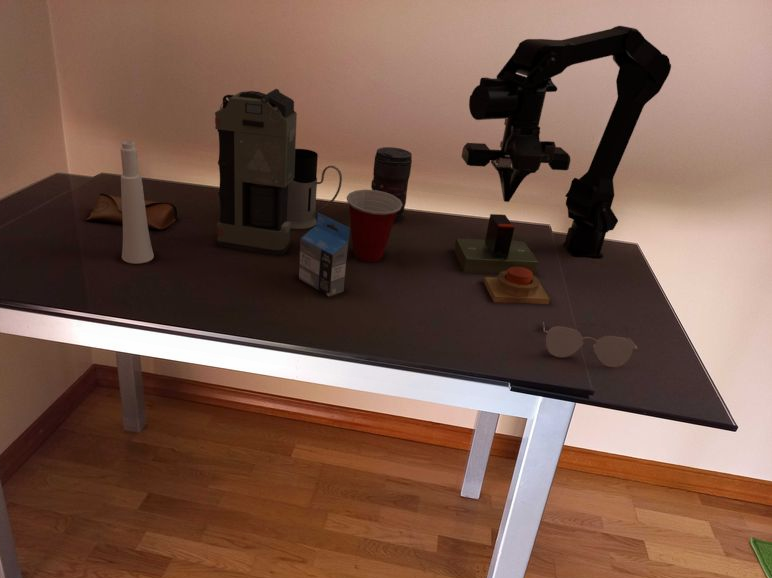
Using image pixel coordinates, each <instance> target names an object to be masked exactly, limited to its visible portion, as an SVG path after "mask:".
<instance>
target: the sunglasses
mask: <svg viewBox="0 0 772 578" xmlns="http://www.w3.org/2000/svg"><path fill="white" fill-rule="evenodd" d="M542 324H543V325H542V330H543V333H546V335H545V347H546V350H547V351H548V353H549V354H551V355H552V356H554V357H557V358H568V357H570V356H572V355H573V354H575V353H576V352H577V351H579V350H580V349H581V348H582V347H583V345H584V339H591V340H593V341H595V343H594V344H592V350H593V352H594V353H595V355H596V357H597V359H598V360H599V362H600V363H601V364H603V365H604V366H606V367H609V368H619V367H622V366H624V365H625V364H626V363H627V362H628V361H629V360H630V358H631V357H632V354H633V352H634V350H637V349H638V346H637V345H636V344H635V343H634V342H633V340H632V339H631V338H630V337H628V336H627V337H621V336H615V335H604V336H602V337H599V338H598V339H595V338H594V337H590V336H585V337H583V335H582V333H580V332H579V330H576V329H574V328H570V327H566V326H560V325H559V326H553V327H551V328H549V329H548V330H546V329H545V322H544V321H543V323H542Z"/></svg>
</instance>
